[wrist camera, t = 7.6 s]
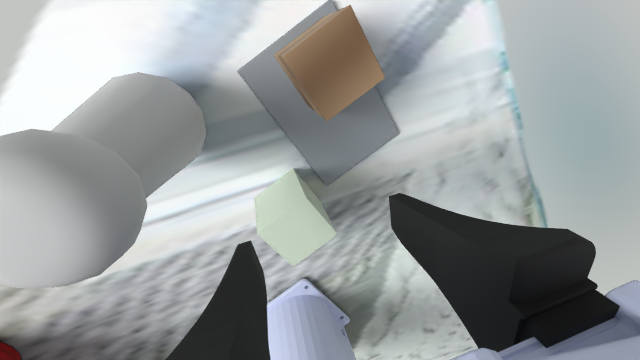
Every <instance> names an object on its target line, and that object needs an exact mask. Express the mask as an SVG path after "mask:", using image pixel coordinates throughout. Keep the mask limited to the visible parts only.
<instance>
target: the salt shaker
mask: <svg viewBox="0 0 640 360" xmlns="http://www.w3.org/2000/svg"><path fill="white" fill-rule="evenodd" d="M206 136H207V133H206V126H205V119H204V113H203V111H202V110H201V108H200V107H199V106H198V104H197V103H196V102H195V100H194V99H193V97H192V96H191V95H190V93H188V92H187V91H186V90H184V89H183V88H181V87H180V86H178V85H177V84H175V83H174V82H173V81H171V80H170V79H168V78H165V77H159V76H154V75H149V74H144V73H139V72H138V73H134V74H129V75H124V76H119V77H114V78H112V79H111V80H109V81H108V82H107V83H106V84H105V85H104V86H103V87H101V88H100V89H99V90H98V91H97V92H96V93H94V94H93V95H92V96H91V97H90V98H89V99H87V100H86V101H85V102H84V103H83V104H82V105H81V106H79V107H78V108H77V109H76V110H75V111H74V112H72V113H71V114H70V115H69V116H68V117H67V118H66V119H64V120H63V121H62V122H61V123H60V124H59V125H57V126H56V127H55V128H54V129H53V130H52V131H44V130H36V129H29V130H25V131H20V132H16V133H11V134H7V135H3V136H0V284H1V285H5V286H10V287H14V288H32V287H61V286H67V285H70V284H73V283H76V282H79V281H82V280H85V279H88V278H91V277H95V276H98V275H100V274H101V273H102V272H104V271H105V270H106V269H107V268H108V267H109V266H111V265H112V264H113V263H114V262H115V261H117V260H118V259H119V258H120V257H121V256H123V255H124V253H125V252H126V251H127V250H128V249H129V248H130V247H131V246H132V245H133V244H134V243H135V241H136V239H137V237H138V234H139V232H140V230H141V226H142V223H143V219H144V216H145V212H146V209H147V202H146V198H147V197H148V196H149V195H150V194H152V193H153V192H154V191H155V190H157V189H158V188H159V187H160V186H162V185H163V184H164V183H165V182H166V181H168V180H169V179H170V178H171V177H173V176H174V175H175V174H177V173H178V172H179V171H181V170H182V169H183V168H185V167H186V166H187V165H188V164H190V163H191V162H192V161H193V160H194V159H195V158H197V157H198V156H199V155H200V154H201V151H202V148H203V145H204V142H205V139H206Z"/></svg>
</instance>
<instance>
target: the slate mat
mask: <svg viewBox="0 0 640 360" xmlns="http://www.w3.org/2000/svg"><path fill="white" fill-rule="evenodd" d="M335 11H337V10H336V8H335V6H334V4H333V2H332V0H328V1H327V2H326V3H325V4H323V5H322V6H321V7H319V8H318V9H317V10H315V11H314V12H313V13H312V14H310V15H309V16H308V17H306V18H305V19H304V20H303V21H301V22H300V23H299V24H297V25H296V26H295V27H294V28H292V29H291V30H290V31H288V32H287V33H286V34H285V35H283V36H282V37H281V38H279V39H278V40H277V41H276V42H274V43H273V44H272V45H270V46H269V47H268V48H267V49H265V50H264V51H263V52H261V53H260V54H259V55H257V56H256V57H255V58H254V59H252V60H251V61H250V62H248V63H247V64H246V65H245V66H243V67H242V68H241V69H239V70H238V71H237V72H238V73H239V74H240V75H241V77H242V78H243V79H244V81H245V82H246V83H247V84H248V86H249V87H250V88H251V90H252V91H253V92H254V94H255V95H256V96H257V97H258V99H259V100H260V101H261V103H262V104H263V105H264V106H265V108H266V109H267V110H268V112H269V113H270V114H271V115H272V117H273V118H274V119H275V121H276V122H277V123H278V124H279V126H280V127H281V128H282V130H283V131H284V132H285V134H286V135H287V136H288V137H289V139H290V140H291V141H292V143H293V144H294V145H295V146H296V148H297V149H298V150H299V152H300V153H301V154H302V155H303V157H304V158H305V159H306V161H307V162H308V163H309V164H310V166H311V167H312V168H313V170H314V171H315V172H316V173H317V175H318V176H319V177H320V179H321V180H322V181H323V183H324V184H325V185H326V186H328V185H329V184H331V183H332V182H333V181H335V180H336V179H337V178H339V177H340V176H341V175H343V174H344V173H346V172H347V171H348V170H350V169H351V168H352V167H354V166H355V165H356V164H358V163H359V162H361V161H362V160H363V159H365V158H366V157H367V156H369V155H370V154H371V153H373V152H374V151H376V150H377V149H378V148H380V147H381V146H382V145H384V144H385V143H386V142H388V141H389V140H391V139H392V138H393V137H395V136H396V135H397V134H399V133H398V131H397V129H396V127H395V125H394V123H393V121H392V119H391V117H390V115H389V113H388V111H387V109H386V107H385V105H384V103H383V101H382V99H381V97H380V95H379V93H378V91H377V89H376V87H375V86H374V87H372V88H371V89H370V90H368V91H367V92H366V93H364V94H363V95H362V96H360V97H359V98H358V99H356V100H355V101H354V102H352V103H351V104H350V105H348V106H347V107H346V108H344V109H343V110H342V111H340V112H339V113H338V114H336V115H335V116H334V117H332V118H331V119H330V120H328V121H326V120H325V119H324V118H322V117H321V116H320V115H319V114H317V113H316V112H315V111H314V110H313V109H311V108H310V107H309V106H308V105H307V104H306V102H305V101H304V99H303V98H302V96H301V95H300V93H299V92H298V90H297V89H296V87H295V86H294V84H293V83H292V82H291V80H290V79H289V77H288V76H287V74H286V73H285V71H284V70H283V68H282V67H281V65H280V64H279V62H278V61H277V59H276V58H275V57H274V55H275V54H276V53H277V52H278V51H280V50H281V49H282V48H284V47H285V46H286V45H288V44H289V43H290V42H291V41H293V40H294V39H295V38H297V37H298V36H299V35H300V34H302V33H303V32H304V31H306V30H307V29H308V28H309V27H311V26H312V25H313V24H315V23H316V22H317V21H318V20H320V19H321V18H322V17H324V16H326V15H329V14H331V13H333V12H335Z"/></svg>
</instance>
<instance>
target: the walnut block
mask: <svg viewBox="0 0 640 360" xmlns="http://www.w3.org/2000/svg"><path fill="white" fill-rule="evenodd" d="M274 57H275V58H276V59H277V61H278V62H279V64H280V65H281V67H282V68H283V70H284V71H285V73H286V74H287V76H288V77H289V79H290V80H291V82H292V83H293V84H294V86H295V87H296V89H297V90H298V92H299V93H300V95H301V96H302V98H303V99H304V101H305V102H306V104H307V105H308V106H309V107H310V108H311V109H313V110H314V111H315V112H316V113H317V114H319V115H320V116H321V117H322V118H324V119H325V120H326V121H328V120H330V119H331V118H332V117H334V116H335V115H336V114H338V113H339V112H340V111H342V110H343V109H344V108H346V107H347V106H348V105H350V104H351V103H352V102H354V101H355V100H356V99H358V98H359V97H360V96H362V95H363V94H364V93H366V92H367V91H368V90H370V89H371V88H372V87H374V86H375V85H376V84H378V83H379V82H380V81H382V80H383V79H384V78H385V76H384V74H383V72H382V70H381V68H380V66H379V64H378V62H377V59H376V57H375V55H374V53H373V51H372V49H371V47H370V45H369V43H368V41H367V39H366V36H365V34H364V32H363V30H362V28H361V26H360V24H359V22H358V20H357V18H356V16H355V13H354V11H353V9H352V7H351V5H349V6H347V7H345V8H342V9H340V10H338V11H335V12H333V13H331V14H329V15H326V16H324V17H322V18H321V19H320V20H318V21H317V22H316V23H315V24H313V25H312V26H311V27H309V28H308V29H307V30H306V31H304V32H303V33H302V34H300V35H299V36H298V37H297V38H295V39H294V40H293V41H291V42H290V43H289V44H288V45H286V46H285V47H284V48H282V49H281V50H280V51H278V52H277V53H276V54H275V55H274Z"/></svg>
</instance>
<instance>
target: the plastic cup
mask: <svg viewBox="0 0 640 360" xmlns="http://www.w3.org/2000/svg"><path fill="white" fill-rule="evenodd" d="M0 360H21V356H20V354H19V353H18V352H17V351H16V350H15V349H14V348H13V347H12V346H9V345H7V344H4V343H2V342H0Z"/></svg>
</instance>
